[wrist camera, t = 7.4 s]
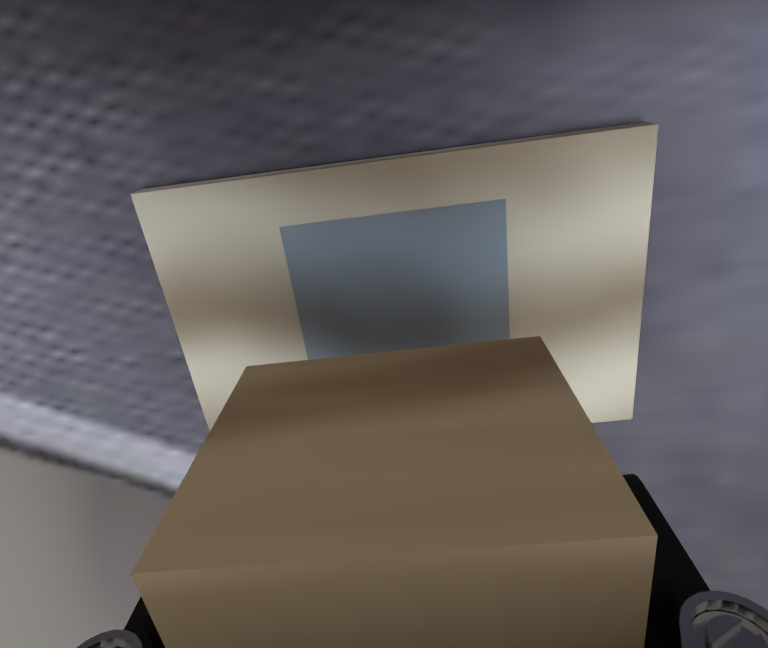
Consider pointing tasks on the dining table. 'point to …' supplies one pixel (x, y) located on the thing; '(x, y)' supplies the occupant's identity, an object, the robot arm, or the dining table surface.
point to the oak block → (402, 511)
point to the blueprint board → (416, 259)
